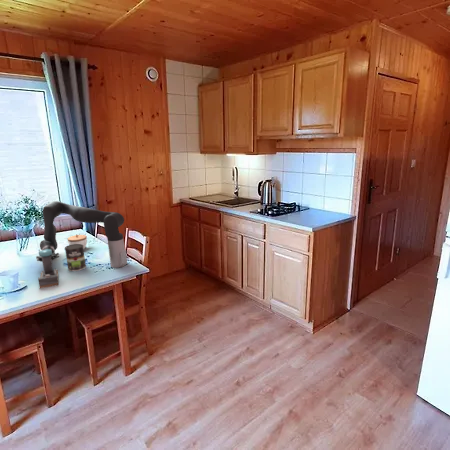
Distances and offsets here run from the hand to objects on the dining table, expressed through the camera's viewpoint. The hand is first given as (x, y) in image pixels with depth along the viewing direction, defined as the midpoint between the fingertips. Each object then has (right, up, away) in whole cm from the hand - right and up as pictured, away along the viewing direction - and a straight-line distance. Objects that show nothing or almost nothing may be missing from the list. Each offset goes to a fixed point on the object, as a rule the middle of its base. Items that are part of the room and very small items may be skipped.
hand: (47, 261), depth 190 cm
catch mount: (+5, -10, -7) cm, 13 cm away
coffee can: (+14, -5, +9) cm, 17 cm away
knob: (+3, -7, -3) cm, 8 cm away
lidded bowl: (-1, +4, +42) cm, 43 cm away
